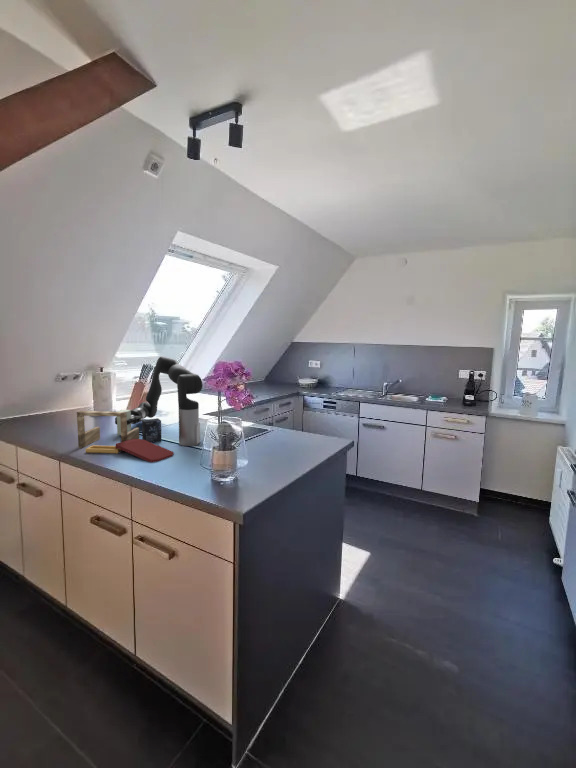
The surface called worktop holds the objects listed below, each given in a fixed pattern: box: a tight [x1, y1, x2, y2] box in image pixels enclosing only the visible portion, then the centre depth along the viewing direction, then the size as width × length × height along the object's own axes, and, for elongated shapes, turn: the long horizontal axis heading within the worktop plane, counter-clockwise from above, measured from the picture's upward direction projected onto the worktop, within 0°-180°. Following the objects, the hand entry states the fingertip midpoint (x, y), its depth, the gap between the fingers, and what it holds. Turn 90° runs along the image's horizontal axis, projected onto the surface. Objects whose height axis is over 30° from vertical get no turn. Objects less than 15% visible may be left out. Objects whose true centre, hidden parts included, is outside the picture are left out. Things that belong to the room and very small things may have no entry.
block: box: [116, 409, 132, 436], centre depth 189 cm, size 5×5×12 cm
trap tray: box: [85, 444, 121, 455], centre depth 163 cm, size 14×6×2 cm, turn 89°
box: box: [141, 418, 162, 443], centre depth 180 cm, size 8×6×11 cm
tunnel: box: [76, 410, 140, 449], centre depth 174 cm, size 21×16×16 cm
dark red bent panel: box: [115, 438, 175, 463], centre depth 161 cm, size 12×5×26 cm
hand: (121, 422), depth 186 cm, fingers closed on block, 5 cm apart
